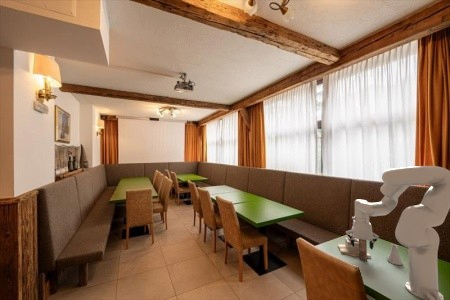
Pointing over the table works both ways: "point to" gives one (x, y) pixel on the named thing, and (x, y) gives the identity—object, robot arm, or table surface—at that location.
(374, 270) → the table surface
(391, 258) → the flask
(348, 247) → the socket block
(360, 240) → the dowel
